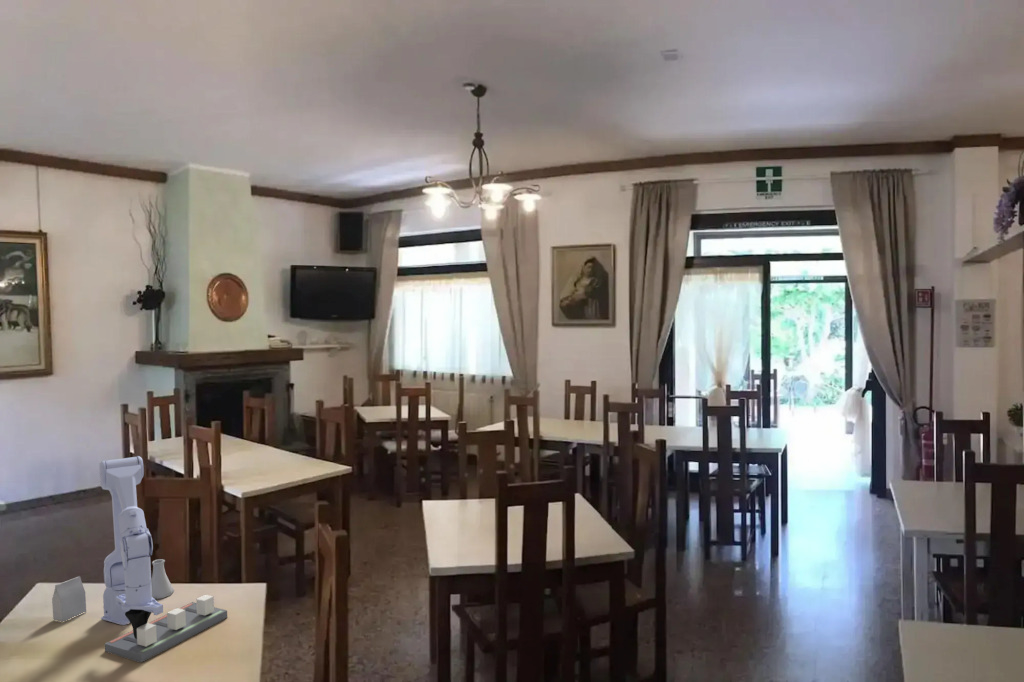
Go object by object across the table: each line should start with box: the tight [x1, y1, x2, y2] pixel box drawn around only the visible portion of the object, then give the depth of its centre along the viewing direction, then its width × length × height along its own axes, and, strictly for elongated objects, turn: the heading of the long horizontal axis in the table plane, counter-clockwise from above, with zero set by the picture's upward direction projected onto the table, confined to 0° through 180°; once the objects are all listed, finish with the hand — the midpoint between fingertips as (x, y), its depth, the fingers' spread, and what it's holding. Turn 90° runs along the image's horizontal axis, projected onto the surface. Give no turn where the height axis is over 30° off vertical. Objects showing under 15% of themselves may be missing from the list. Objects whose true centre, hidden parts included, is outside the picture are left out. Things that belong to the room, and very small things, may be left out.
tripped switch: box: [137, 622, 157, 647], centre depth 175 cm, size 3×3×4 cm
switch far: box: [195, 594, 215, 615], centre depth 192 cm, size 3×3×4 cm
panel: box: [104, 601, 228, 663], centre depth 185 cm, size 13×26×2 cm, turn 155°
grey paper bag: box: [51, 575, 87, 622], centre depth 196 cm, size 4×7×10 cm, turn 156°
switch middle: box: [166, 607, 186, 630], centre depth 184 cm, size 3×3×4 cm
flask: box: [151, 558, 175, 600], centre depth 209 cm, size 7×7×10 cm
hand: (140, 637), depth 176 cm, fingers closed
